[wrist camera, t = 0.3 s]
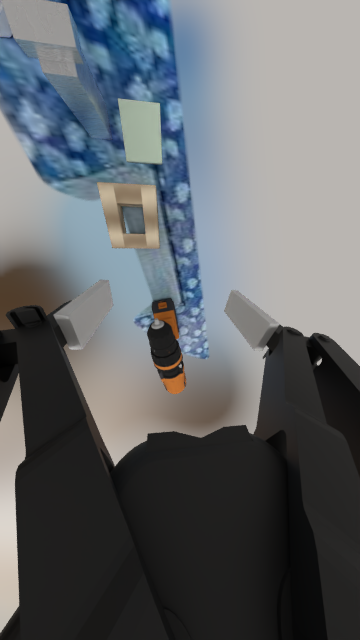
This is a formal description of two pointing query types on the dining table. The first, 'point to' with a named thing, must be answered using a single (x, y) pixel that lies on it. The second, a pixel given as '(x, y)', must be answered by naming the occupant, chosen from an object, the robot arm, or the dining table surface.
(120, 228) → the socket block
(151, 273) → the dining table surface
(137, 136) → the mat
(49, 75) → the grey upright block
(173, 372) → the power drill
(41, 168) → the dining table surface
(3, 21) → the white cup
